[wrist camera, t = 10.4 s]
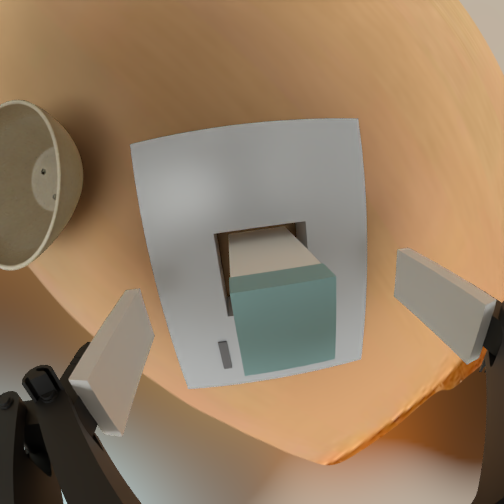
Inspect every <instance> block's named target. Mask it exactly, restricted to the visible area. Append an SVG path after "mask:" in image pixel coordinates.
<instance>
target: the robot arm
mask: <svg viewBox="0 0 504 504" xmlns="http://www.w3.org/2000/svg"><path fill="white" fill-rule="evenodd" d="M394 297H395V298H396V299H398V300H399V301H400V302H401V303H402V304H403V305H404V306H405V307H407V308H408V309H409V310H410V311H411V312H412V313H413V314H414V315H415V316H417V317H418V318H419V319H420V320H421V321H422V322H423V323H424V324H425V325H426V326H427V327H429V328H430V329H431V330H432V331H433V332H434V333H435V334H436V335H437V336H438V337H439V338H440V339H441V340H442V341H443V342H444V343H445V344H447V345H448V346H449V347H450V348H451V349H452V350H453V351H454V352H455V353H456V354H457V355H458V356H459V357H460V358H461V359H462V360H463V361H464V362H465V363H466V364H469V363H471V362H472V361H474V360H476V359H478V358H479V355H480V353H481V350H482V347H483V346H484V347H485V348H486V349H487V352H486V355H485V357H484V360H483V362H482V365H481V367H480V371H479V372H481V371H482V369H483V368H484V367H485V366H486V369H485V372H486V386H487V415H486V434H485V446H484V455H483V463H482V469H481V476H480V481H479V487H478V491H477V494H476V497H475V499H474V500H473V502H472V503H471V504H504V301H503V303H501V302H500V301H498V300H497V299H495V298H494V297H492V296H490V295H489V294H487V293H486V292H484V291H482V290H481V289H479V288H477V287H476V286H475V285H473V284H471V283H470V282H468V281H466V280H464V279H463V278H461V277H459V276H458V275H456V274H454V273H453V272H451V271H449V270H448V269H446V268H444V267H442V266H441V265H439V264H437V263H435V262H434V261H432V260H430V259H428V258H427V257H425V256H423V255H421V254H419V253H418V252H416V251H414V250H412V249H410V248H403V249H397V264H396V278H395V290H394ZM154 336H155V335H154V332H153V329H152V326H151V323H150V320H149V317H148V314H147V311H146V307H145V304H144V301H143V297H142V294H141V291H140V288H139V289H131V290H126V291H125V292H124V294H123V295H122V297H121V298H120V299H119V301H118V302H117V304H116V305H115V307H114V308H113V310H112V311H111V312H110V314H109V315H108V317H107V318H106V320H105V321H104V323H103V324H102V326H101V327H100V329H99V330H98V332H97V334H96V335H95V337H94V338H93V340H92V342H87V343H86V344H85V345H83V346H82V347H81V348H80V349H79V350H78V352H77V353H76V355H75V356H74V358H73V360H72V361H71V362H70V365H69V366H68V367H67V369H66V370H65V372H64V374H63V375H62V377H61V378H60V380H59V379H58V377H57V375H56V374H55V372H54V370H53V369H52V367H51V366H48V365H40V366H37V367H35V368H33V369H31V370H30V371H29V372H28V373H27V374H25V376H24V378H23V380H22V385H23V386H24V388H25V389H26V391H27V392H28V394H29V395H30V397H31V398H32V400H30V401H22V399H21V398H20V397H19V395H18V394H17V393H16V392H14V391H8V392H6V393H3V394H2V395H0V504H63V498H62V493H61V490H62V492H63V494H64V497H65V499H66V501H67V504H141V502H140V501H139V500H138V498H137V497H136V496H135V494H134V493H133V492H132V490H131V489H130V487H129V486H128V485H127V483H126V482H125V480H124V479H123V477H122V476H121V474H120V473H119V471H118V470H117V468H116V467H115V465H114V463H113V462H112V460H111V459H110V457H109V455H108V454H107V452H106V450H105V449H104V447H103V445H102V443H101V441H100V440H99V438H98V436H97V435H96V434H95V433H94V432H95V430H96V427H97V425H98V426H99V427H100V429H101V430H102V432H103V433H104V434H105V435H114V436H123V433H124V429H125V426H126V422H127V419H128V416H129V412H130V409H131V406H132V403H133V399H134V396H135V393H136V390H137V387H138V383H139V380H140V377H141V374H142V371H143V368H144V365H145V362H146V359H147V356H148V354H149V351H150V348H151V345H152V342H153V339H154ZM24 447H25V450H24Z"/></svg>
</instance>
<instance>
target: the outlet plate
mask: <svg viewBox="0 0 504 504" xmlns="http://www.w3.org/2000/svg"><path fill="white" fill-rule="evenodd" d="M130 148H131V156H132V164H133V171H134V178H135V184H136V191H137V197H138V202H139V208H140V214H141V219H142V224H143V229H144V234H145V239H146V243H147V248H148V253H149V257H150V261H151V266H152V270H153V274H154V278H155V282H156V286H157V290H158V294H159V297H160V301H161V305H162V308H163V312H164V315H165V319H166V322H167V326H168V329H169V332H170V336H171V339H172V342H173V345H174V348H175V351H176V355H177V358H178V361H179V364H180V366H181V369H182V372H183V375H184V378H185V381H186V384H187V386H188V389H195V388H207V387H217V386H226V385H234V384H242V383H249V382H256V381H263V380H269V379H275V378H281V377H286V376H291V375H297V374H301V373H306V372H311V371H316V370H320V369H324V368H329V367H333V366H337V365H341V364H345V363H349V362H352V361H356V360H360V359H361V355H362V345H363V334H364V322H365V307H366V286H367V214H366V193H365V178H364V166H363V155H362V146H361V137H360V129H359V121H358V119H354V118H326V119H297V120H280V121H267V122H256V123H247V124H238V125H230V126H222V127H215V128H209V129H202V130H196V131H190V132H185V133H179V134H174V135H169V136H164V137H159V138H155V139H150V140H146V141H141V142H137V143H133V144H130ZM287 223H295V226H296V238H297V239H298V240H299V241H300V242H301V243H302V244H303V245H304V246H305V247H306V248H307V249H308V250H309V251H310V252H311V253H312V254H313V255H314V256H315V257H316V258H317V259H318V260H319V262H320V263H324V264H325V265H326V266H327V267H328V268H329V269H330V270H331V271H332V272H333V273H334V274H335V276H336V348H335V359H333V360H329V361H324V362H320V363H315V364H311V365H306V366H301V367H296V368H291V369H285V370H280V371H274V372H268V373H262V374H256V375H249V376H245V374H244V369H243V364H242V359H241V353H240V348H239V343H238V337H237V332H236V326H235V321H234V315H233V309H232V304H231V298H230V297H227V292H226V287H225V281H224V275H223V269H222V263H221V257H220V251H219V245H218V239H217V233H223V232H230V231H237V230H244V229H251V228H258V227H265V226H272V225H280V224H287Z"/></svg>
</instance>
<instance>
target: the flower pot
mask: <svg viewBox="0 0 504 504" xmlns="http://www.w3.org/2000/svg"><path fill="white" fill-rule="evenodd" d="M42 172H44V173H45V174H42ZM82 186H83V166H82V161H81V157H80V154H79V152H78V149H77V147H76V145H75V143H74V141H73V140H72V138H71V136H70V135H69V133H68V132H67V131H66V130H65V128H64V127H63V126H62V125H61V124H60V123H59V122H58V121H57V120H56V119H55V118H53V117H52V116H51V115H50V114H48V113H47V112H46V111H44V110H43V109H41V108H40V107H38V106H36V105H34V104H32V103H30V102H28V101H24V100H12V101H8V102H5V103H3V104H1V105H0V269H4V270H17V269H20V268H23V267H24V266H27V265H28V264H30V263H31V262H33V261H34V260H35V259H36V258H37V257H39V256H40V255H41V254H42V253H43V252H44V251H45V250H46V249H47V248H48V247H49V246H50V245H51V244H52V243H53V241H54V240H55V239H56V238H57V237H58V236H59V234H60V233H61V232H62V230H63V229H64V227H65V226H66V225H67V223H68V221H69V220H70V218H71V216H72V214H73V212H74V210H75V208H76V206H77V204H78V201H79V198H80V195H81V191H82Z"/></svg>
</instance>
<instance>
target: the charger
mask: <svg viewBox="0 0 504 504" xmlns="http://www.w3.org/2000/svg"><path fill="white" fill-rule="evenodd" d="M228 238H229V260H230V278H229V288H230V298H231V304H232V309H233V315H234V321H235V326H236V332H237V337H238V343H239V348H240V353H241V359H242V364H243V369H244V374H245V376H249V375H256V374H262V373H268V372H274V371H280V370H285V369H291V368H296V367H301V366H306V365H311V364H315V363H320V362H324V361H329V360H333V359H335V348H336V276H335V274H334V273H333V272H332V271H331V270H330V269H329V268H328V267H327V266H326V265H325V264H324V263H320V262H319V260H318V259H317V258H316V257H315V256H314V255H313V254H312V253H311V252H310V251H309V250H308V249H307V248H306V247H305V246H304V245H303V244H302V243H301V242H300V241H299V240H298V239H297V238H296V237H295V236H294V235H293V234H292V233H291V232H290V231H289V230H288V229H287V228H286V227H285V226H281V227H274V228H266V229H259V230H252V231H245V232H238V233H231V234H228Z"/></svg>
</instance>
